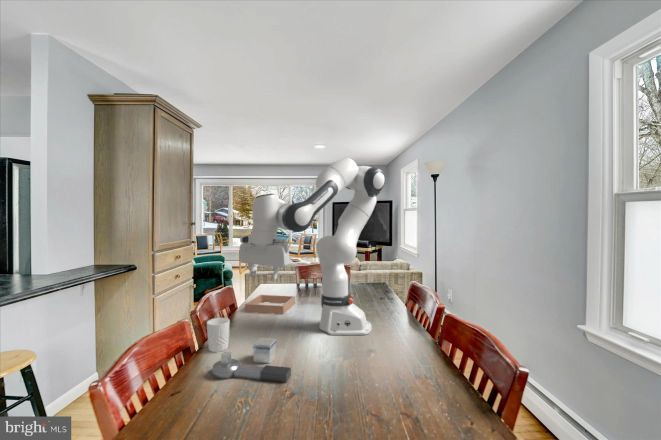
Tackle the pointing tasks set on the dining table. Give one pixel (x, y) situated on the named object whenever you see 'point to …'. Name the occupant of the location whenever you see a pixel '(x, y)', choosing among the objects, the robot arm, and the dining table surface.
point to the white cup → (218, 334)
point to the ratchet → (248, 370)
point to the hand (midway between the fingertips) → (263, 277)
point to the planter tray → (276, 309)
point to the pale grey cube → (264, 350)
